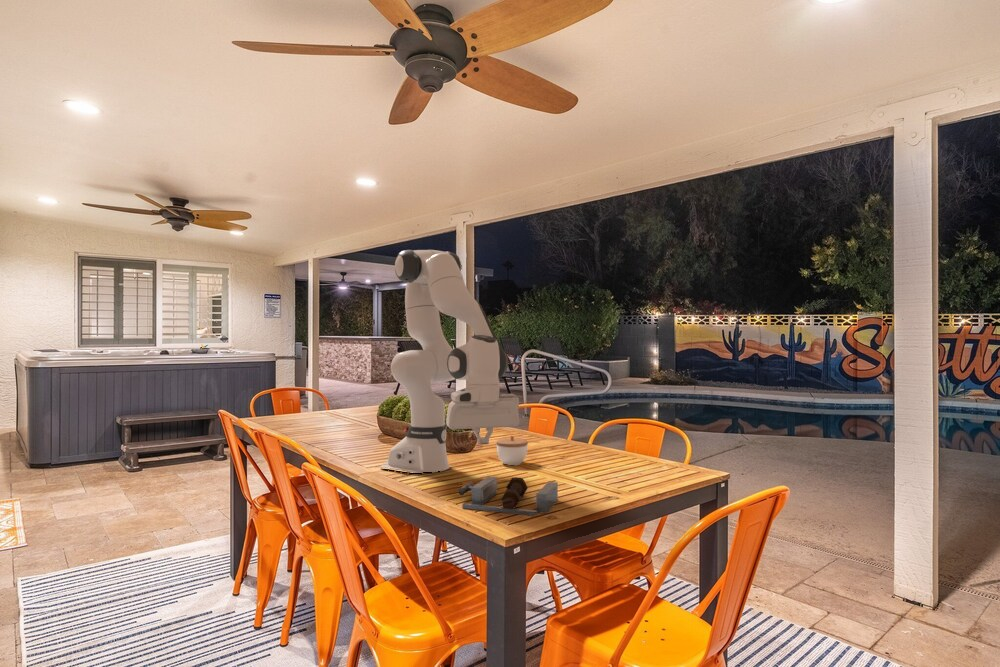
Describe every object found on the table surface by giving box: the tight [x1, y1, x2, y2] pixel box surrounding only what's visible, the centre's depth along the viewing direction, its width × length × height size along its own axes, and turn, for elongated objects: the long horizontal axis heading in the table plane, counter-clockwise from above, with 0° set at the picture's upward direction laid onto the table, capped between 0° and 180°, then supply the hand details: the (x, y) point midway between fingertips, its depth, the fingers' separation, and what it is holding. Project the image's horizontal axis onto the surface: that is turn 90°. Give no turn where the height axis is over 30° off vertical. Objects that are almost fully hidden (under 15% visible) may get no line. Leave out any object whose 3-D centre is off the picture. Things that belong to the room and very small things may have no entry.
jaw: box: [457, 476, 498, 505], centre depth 149 cm, size 8×12×4 cm, turn 161°
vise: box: [461, 481, 559, 517], centre depth 145 cm, size 21×15×5 cm
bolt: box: [500, 476, 528, 508], centre depth 146 cm, size 6×5×15 cm
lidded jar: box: [495, 435, 529, 466], centre depth 192 cm, size 11×11×9 cm
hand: (482, 444), depth 155 cm, fingers closed
